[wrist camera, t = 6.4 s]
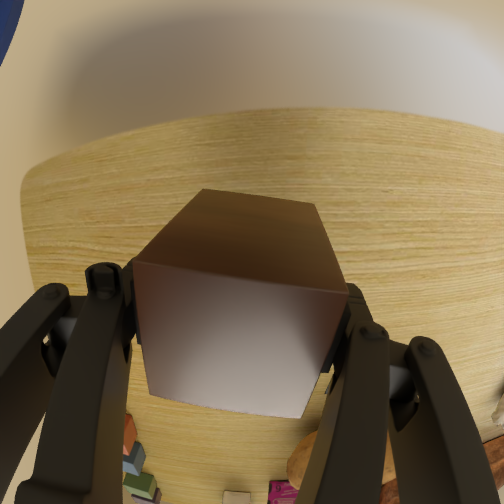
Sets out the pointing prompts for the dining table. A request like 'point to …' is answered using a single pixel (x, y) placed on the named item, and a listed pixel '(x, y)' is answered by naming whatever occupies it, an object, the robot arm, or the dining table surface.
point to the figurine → (499, 413)
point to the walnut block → (239, 304)
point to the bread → (499, 456)
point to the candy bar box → (281, 493)
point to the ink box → (236, 497)
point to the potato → (303, 452)
